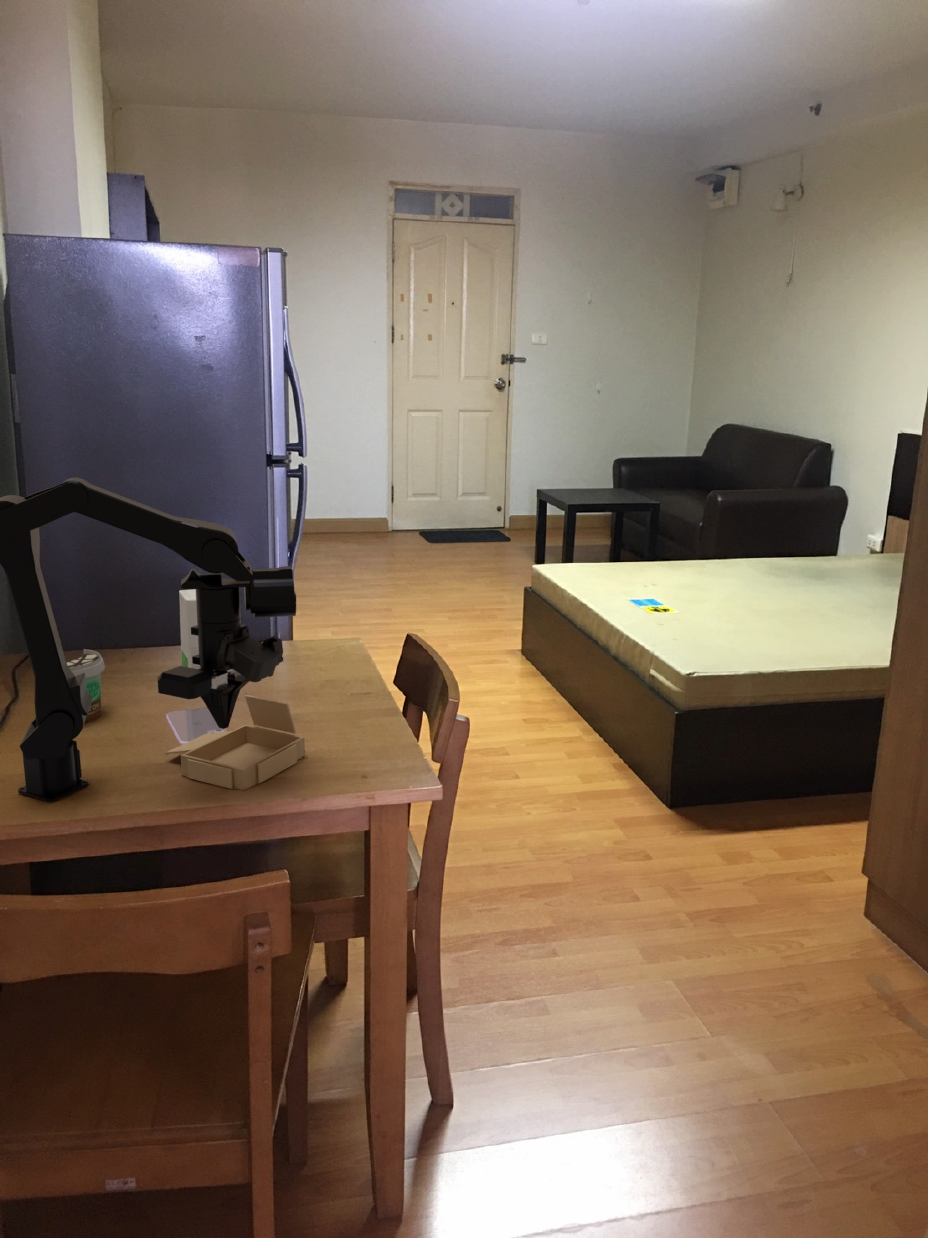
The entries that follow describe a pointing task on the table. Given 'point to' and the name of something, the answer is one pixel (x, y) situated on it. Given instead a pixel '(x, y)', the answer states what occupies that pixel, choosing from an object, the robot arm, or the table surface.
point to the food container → (90, 679)
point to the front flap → (270, 714)
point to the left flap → (196, 743)
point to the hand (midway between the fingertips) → (223, 727)
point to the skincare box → (188, 627)
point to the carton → (243, 757)
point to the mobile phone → (192, 724)
